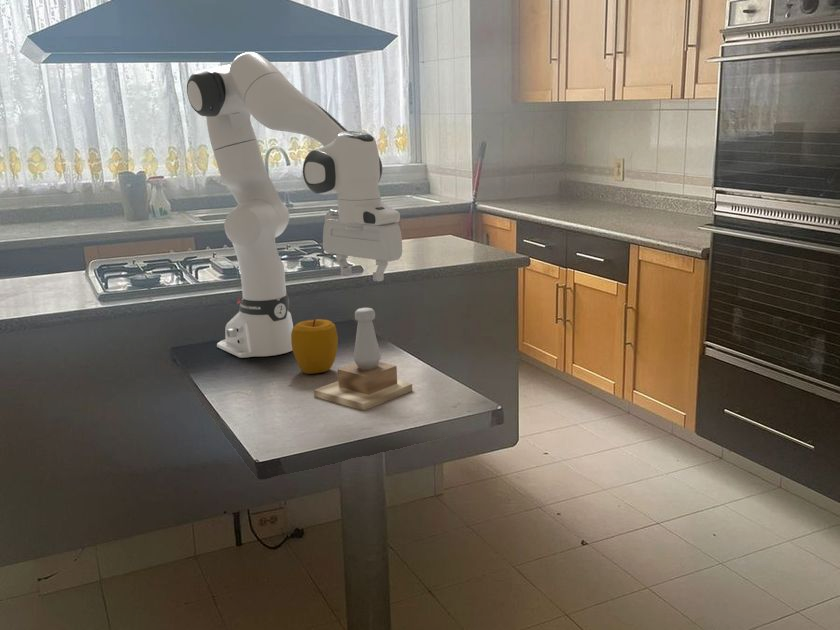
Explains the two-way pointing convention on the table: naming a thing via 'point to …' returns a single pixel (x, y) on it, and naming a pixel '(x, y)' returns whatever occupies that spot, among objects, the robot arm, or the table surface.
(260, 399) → the table surface
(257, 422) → the table surface
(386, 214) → the robot arm
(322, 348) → the apple
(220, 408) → the table surface
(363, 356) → the salt shaker
